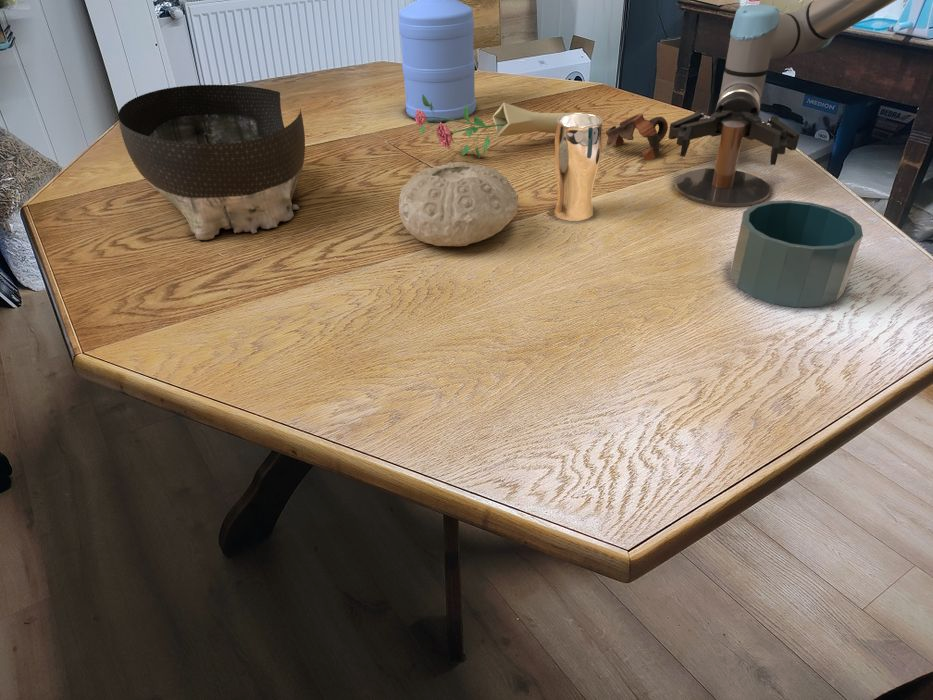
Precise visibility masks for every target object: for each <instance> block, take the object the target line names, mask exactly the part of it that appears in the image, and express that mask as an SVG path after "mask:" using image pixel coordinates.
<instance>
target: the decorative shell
mask: <svg viewBox="0 0 933 700" xmlns="http://www.w3.org/2000/svg"><path fill="white" fill-rule="evenodd" d="M399 189H400V194H399V200H398V213H399V218H400V220H401V222H402V225H403V226H404V228H405V230H406V231H407V232H408V233H409V234H410V235H411V236H413V237H414V238H415V239H416V240H418V241H420V242H422V243H425V244H427V245H428V244H430V245H433V246H437V247H442V246H443V247H466V246H469V245H472V244H476V243H479V242H482V241H484V240H487V239H490V238H491V237H493V236H494V235H496V234H498V233H499V232H501V231H502V230H503V229H504V228H505V227H506V226H507V225H508V224H509V223H510V222H511V221H512V220H513V219H514V218H515V216H516V214H517V213H518V207H519V194H518V193H517V191H516V189H514V187H513V185H512V184H511V182H510V181H509V180H508V177H507V176H504V174H502V173H501V172H499V171H498V169H497V168H496V167H490V166H487V165H483V164H479V163H468V162H466V161H455V162H448V163H445V164H442V165H439V166H435V167H428V168H425V169H422V170H421V171H419V172H417V173H415V174H414V175H412V176H411V177H410V178H409V179H408V180H407V181H406V182H405V184H404V186H401V187H400V188H399Z"/></svg>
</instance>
